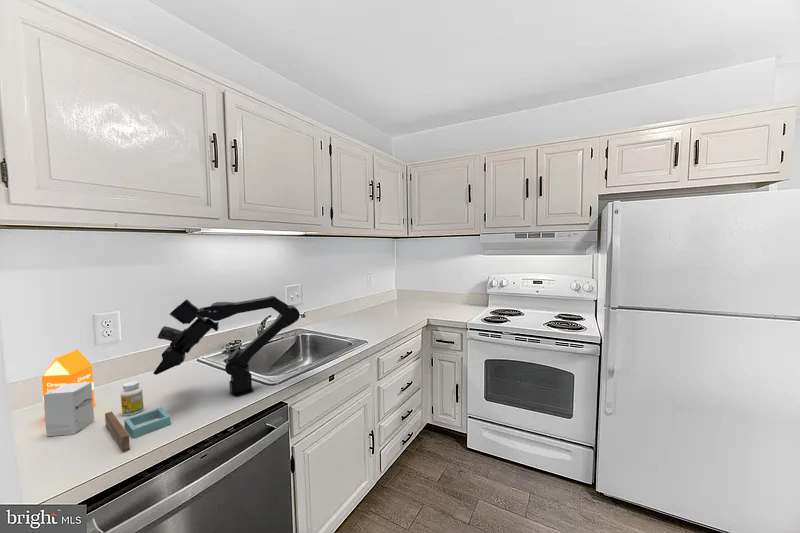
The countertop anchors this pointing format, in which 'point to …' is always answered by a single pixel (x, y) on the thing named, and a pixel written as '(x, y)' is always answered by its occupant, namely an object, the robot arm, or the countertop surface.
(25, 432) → the countertop surface
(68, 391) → the supplement box
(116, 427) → the wall
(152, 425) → the socket block
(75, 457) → the countertop surface
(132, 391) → the supplement bottle
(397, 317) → the countertop surface
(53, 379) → the orange juice
